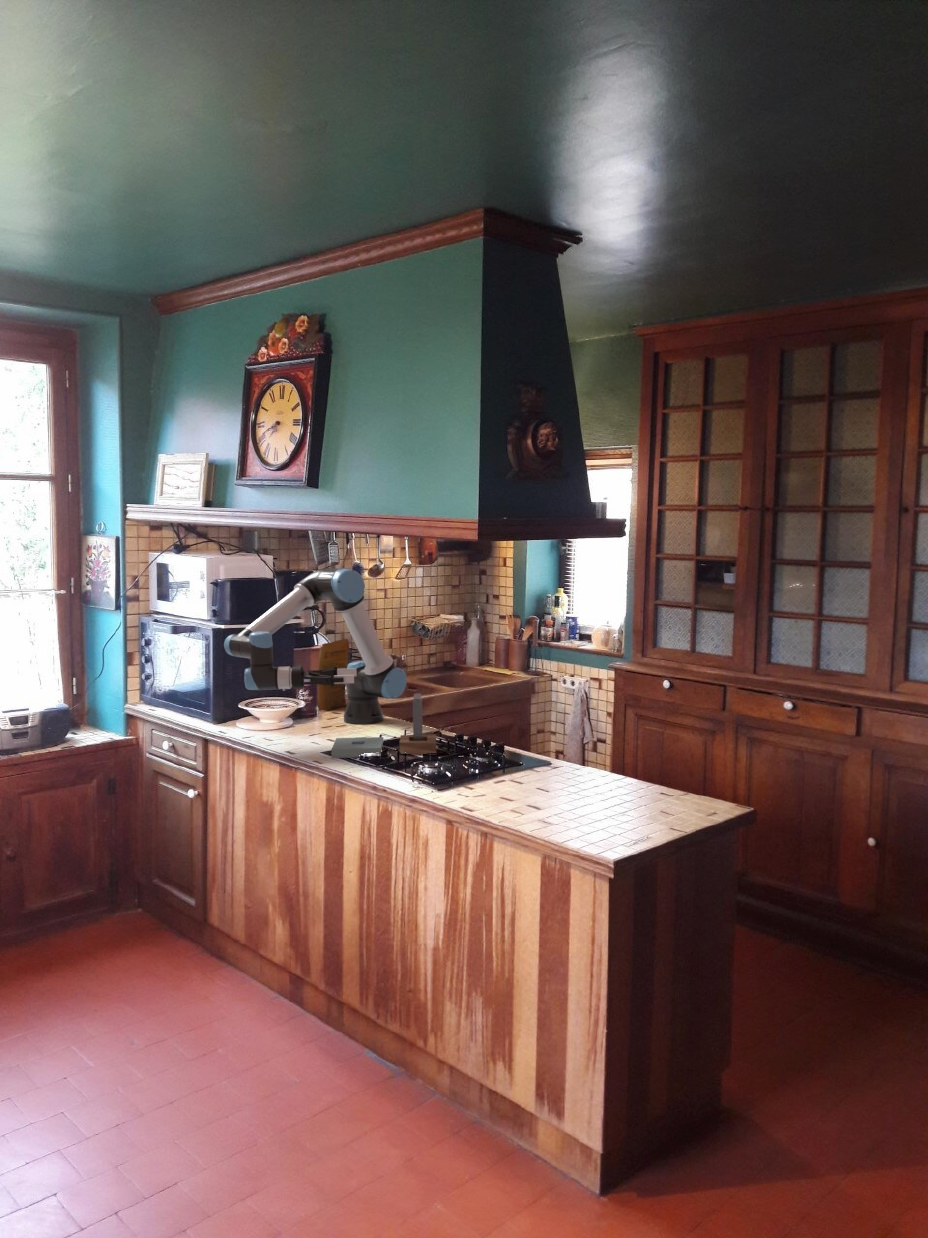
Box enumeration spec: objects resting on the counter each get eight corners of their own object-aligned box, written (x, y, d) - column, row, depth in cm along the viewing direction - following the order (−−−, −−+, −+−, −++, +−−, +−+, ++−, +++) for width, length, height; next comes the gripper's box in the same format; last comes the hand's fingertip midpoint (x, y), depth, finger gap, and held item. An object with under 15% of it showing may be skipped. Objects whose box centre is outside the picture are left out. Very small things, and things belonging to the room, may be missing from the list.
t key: (414, 747, 337) (413, 693, 335) (422, 747, 337) (422, 693, 336) (413, 754, 327) (412, 699, 325) (422, 754, 327) (421, 698, 326)
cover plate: (336, 746, 340) (336, 738, 339) (383, 745, 340) (383, 737, 340) (331, 757, 324) (331, 748, 323) (381, 756, 324) (380, 747, 324)
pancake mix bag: (356, 705, 415) (354, 638, 412) (322, 712, 400) (321, 643, 397) (344, 703, 419) (342, 637, 416) (311, 711, 404) (309, 642, 401)
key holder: (400, 746, 338) (400, 735, 338) (436, 746, 338) (436, 734, 338) (399, 755, 326) (399, 743, 326) (436, 754, 327) (436, 742, 326)
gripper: (296, 682, 347) (357, 680, 348) (287, 695, 322) (353, 693, 323) (295, 660, 346) (356, 658, 347) (286, 672, 321) (352, 670, 322)
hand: (355, 675), depth 335 cm, fingers open, 13 cm apart
